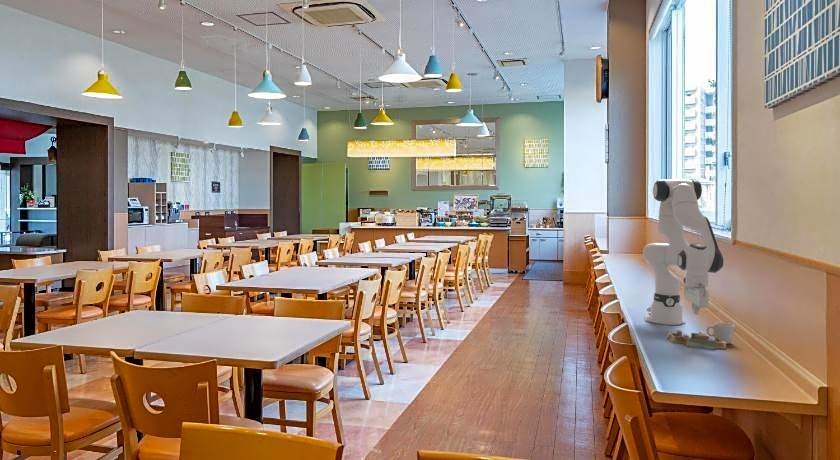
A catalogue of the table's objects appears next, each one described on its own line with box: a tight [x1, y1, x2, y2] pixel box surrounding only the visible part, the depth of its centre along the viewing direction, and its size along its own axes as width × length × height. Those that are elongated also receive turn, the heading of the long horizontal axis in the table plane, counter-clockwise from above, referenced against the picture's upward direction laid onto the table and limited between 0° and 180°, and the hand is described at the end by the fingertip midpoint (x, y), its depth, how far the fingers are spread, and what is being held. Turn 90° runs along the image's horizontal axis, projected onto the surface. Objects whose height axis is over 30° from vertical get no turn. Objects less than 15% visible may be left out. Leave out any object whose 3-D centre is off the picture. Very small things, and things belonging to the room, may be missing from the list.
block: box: [690, 332, 709, 339], centre depth 267 cm, size 5×5×5 cm
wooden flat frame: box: [666, 329, 727, 350], centre depth 272 cm, size 18×19×4 cm
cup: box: [706, 322, 736, 345], centre depth 276 cm, size 11×8×8 cm
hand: (695, 313), depth 276 cm, fingers closed
